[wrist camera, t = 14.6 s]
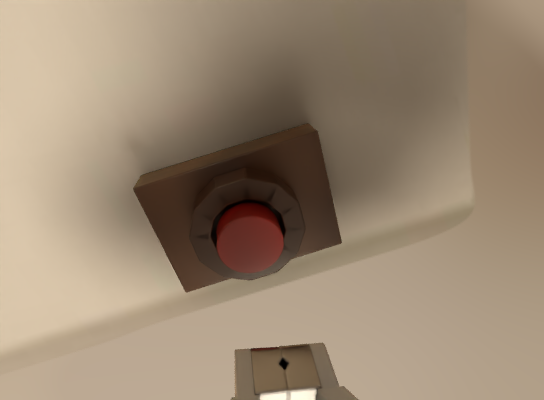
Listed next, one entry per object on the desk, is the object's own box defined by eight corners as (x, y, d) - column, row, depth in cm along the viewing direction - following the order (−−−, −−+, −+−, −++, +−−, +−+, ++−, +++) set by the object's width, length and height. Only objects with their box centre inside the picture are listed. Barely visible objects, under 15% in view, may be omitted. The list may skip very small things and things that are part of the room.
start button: (269, 193, 19) (274, 207, 17) (285, 245, 20) (291, 262, 19) (207, 213, 19) (206, 228, 17) (228, 263, 20) (229, 281, 19)
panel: (308, 122, 21) (327, 138, 17) (332, 227, 25) (351, 258, 21) (140, 175, 21) (123, 202, 17) (188, 273, 24) (183, 312, 21)
